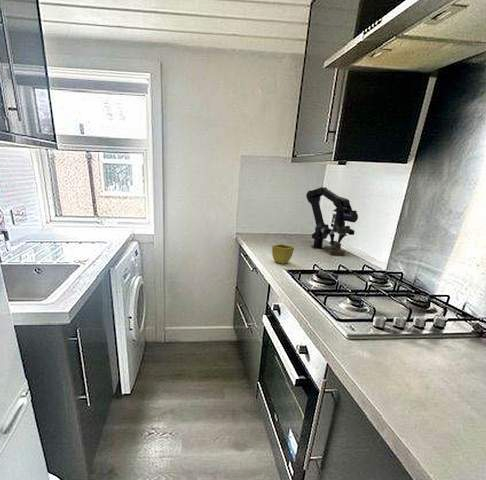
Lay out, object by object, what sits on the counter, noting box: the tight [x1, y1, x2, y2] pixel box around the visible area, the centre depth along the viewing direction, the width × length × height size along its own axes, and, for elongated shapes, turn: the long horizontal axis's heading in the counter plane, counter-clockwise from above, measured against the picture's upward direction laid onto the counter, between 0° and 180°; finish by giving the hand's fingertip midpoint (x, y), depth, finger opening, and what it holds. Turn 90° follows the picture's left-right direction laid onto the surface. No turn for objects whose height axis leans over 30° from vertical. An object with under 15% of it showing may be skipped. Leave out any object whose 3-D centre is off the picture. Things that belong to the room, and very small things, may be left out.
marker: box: [329, 240, 342, 249], centre depth 190 cm, size 11×3×3 cm, turn 177°
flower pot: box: [271, 243, 295, 265], centre depth 164 cm, size 9×9×9 cm
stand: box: [323, 245, 346, 257], centre depth 191 cm, size 14×8×2 cm, turn 177°
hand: (335, 244), depth 190 cm, fingers closed on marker, 3 cm apart
